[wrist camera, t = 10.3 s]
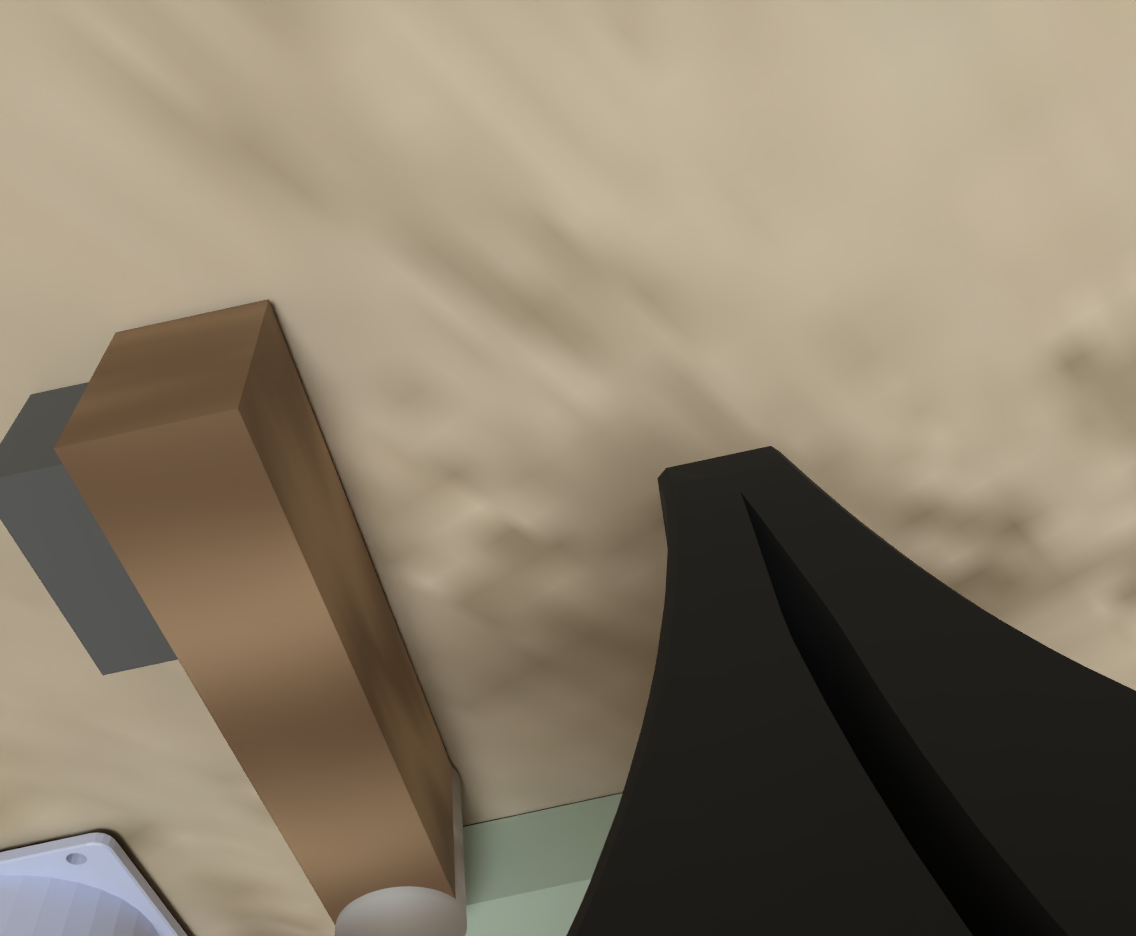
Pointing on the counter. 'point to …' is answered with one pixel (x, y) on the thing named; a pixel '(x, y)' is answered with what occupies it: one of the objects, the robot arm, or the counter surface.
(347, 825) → the folding leg
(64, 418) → the leg stop
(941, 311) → the counter surface
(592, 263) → the counter surface
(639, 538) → the counter surface
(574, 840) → the stool seat
